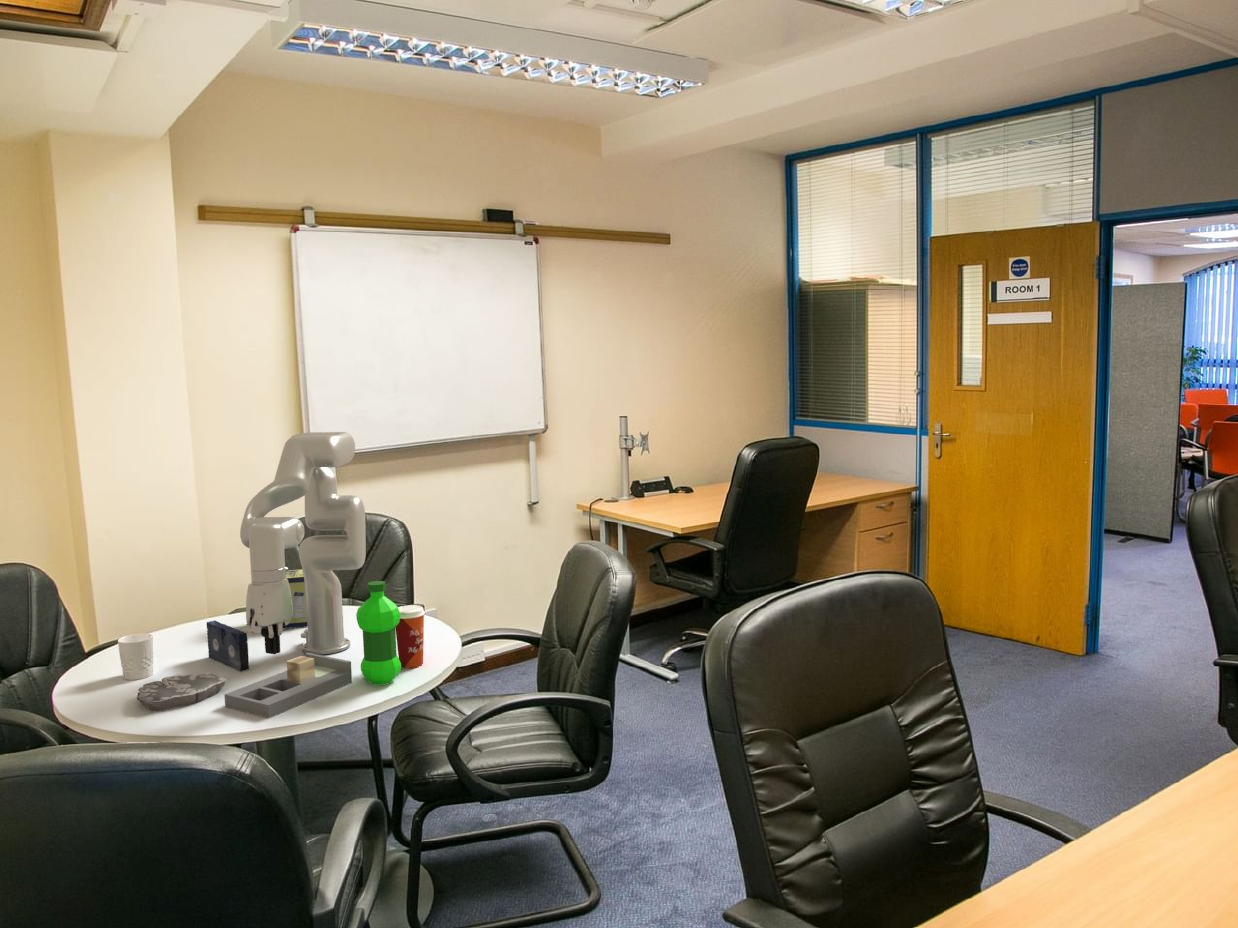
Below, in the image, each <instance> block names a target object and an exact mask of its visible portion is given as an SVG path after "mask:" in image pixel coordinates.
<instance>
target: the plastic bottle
mask: <svg viewBox="0 0 1238 928" xmlns="http://www.w3.org/2000/svg"><path fill="white" fill-rule="evenodd" d="M386 585H387V584H386V581H383V580H375V581H369V582H368V583H367V591H368V592H369V594H370V597H368V598H367V599H366V600H365V601H364V602H363V603H362V604H361V605H360V606H359V607H358V608H357V609H356V610H357V611H356V614H355V615H356V616H355V617H356V622H357V625H358V627H359V629H360V630H361V631H362V641H363V642H362V645H363V658H362V660H361V663H360V671H361V674H362V677H363V678H364V679H365V680H366V681H368V682H369V683H372V684H371V685H374V686H384V684H385V685H388V684H387V683H389V684H391V681H392V682H393V680H394V679H395V678H397V677H398V675H400V672H401V670H402V667H401V663H400V660H399V656H398V655H397V654H398V652H397V639H396V629H395V627H396V626H397V625H398V624H399V621H400V612H399V609H398V607H399V606H398V605H397V603H394V602H393V601H392V600H391V599H389V598H388V597H386V596H385V591H386V590H387V589H386Z"/></svg>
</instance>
